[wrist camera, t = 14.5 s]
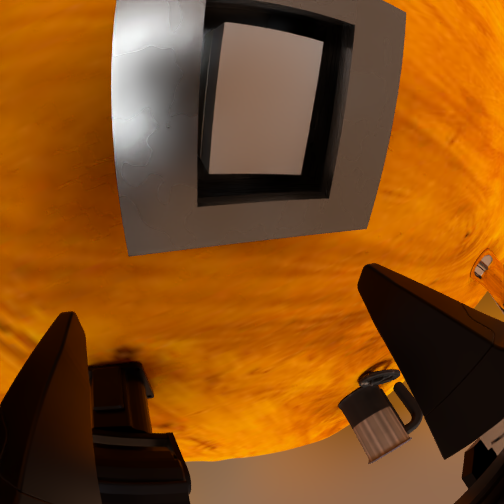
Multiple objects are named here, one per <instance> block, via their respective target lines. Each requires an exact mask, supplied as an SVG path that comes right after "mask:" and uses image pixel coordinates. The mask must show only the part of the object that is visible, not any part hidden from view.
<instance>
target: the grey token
mask: <svg viewBox="0 0 504 504" xmlns="http://www.w3.org/2000/svg"><path fill="white" fill-rule="evenodd" d="M323 43H324V42H322V41H319V40H315V39H311V38H308V37H304V36H300V35H296V34H292V33H287V32H283V31H278V30H273V29H268V28H263V27H257V26H251V25H244V24H237V23H229V22H224V23H223V24H221V25H220V26H218V27H217V28H216V29H214V30H213V38H212V45H211V53H210V62H209V70H208V79H207V89H206V99H205V110H204V122H203V134H202V148H201V161H202V163H203V164H204V166H205V168H206V170H207V171H208V173H209V174H291V175H301V171H302V166H303V160H304V155H305V150H306V144H307V139H308V134H309V128H310V122H311V117H312V111H313V105H314V99H315V93H316V87H317V81H318V75H319V69H320V63H321V56H322V49H323Z"/></svg>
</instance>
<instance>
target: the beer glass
mask: <svg viewBox="0 0 504 504" xmlns="http://www.w3.org/2000/svg"><path fill="white" fill-rule="evenodd" d="M470 276H471V278H472V279H474V280H475V281H477V282H478V283H480V284H481V285H483V286H484V287H485V288H486V289H487V291H488V292H489V293H490V295H491V296H492V297H493V299H494V300H495V302H496V303H497V305H498V306H499V308H500V309H501V311H502V312H503V313H504V264H503V263H501V262H500V261H499V260H498V259H497V257H496V256H495V255H494V254H493V252H492V251H491V250H490V249H486V250H485V251H484V252H483V253H482V254H481V255H480V256H479V258H478V259H477V261H476V262H475V264H474V266H473V268H472V270H471V274H470Z"/></svg>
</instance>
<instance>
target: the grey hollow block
mask: <svg viewBox="0 0 504 504" xmlns="http://www.w3.org/2000/svg"><path fill="white" fill-rule="evenodd" d="M224 22H229V23H237V24H244V25H251V26H257V27H263V28H268V29H273V30H278V31H283V32H287V33H292V34H296V35H300V36H304V37H308V38H311V39H315V40H319V41H322V42H324V43H323V49H322V56H321V63H320V69H319V75H318V81H317V87H316V93H315V99H314V105H313V111H312V117H311V122H310V128H309V134H308V139H307V144H306V150H305V155H304V160H303V166H302V171H301V175H291V174H209V173H208V171H207V170H206V168H205V166H204V164H203V163H202V161H201V158H199V156H198V154H197V140H198V105H199V83H200V73H201V65H202V57H203V49H204V41H205V35H206V34H207V33H209V32H210V31H211V30H213V29H216V28H217V27H218V26H220V25H221V24H223V23H224ZM405 24H406V12H404V11H402V10H400V9H398V8H396V7H394V6H393V5H391V4H389V3H387V2H385V1H383V0H117V1H116V9H115V19H114V30H113V45H112V71H111V101H112V128H113V144H114V156H115V167H116V177H117V185H118V193H119V201H120V208H121V215H122V221H123V227H124V233H125V239H126V244H127V249H128V254H129V256H137V255H144V254H152V253H160V252H168V251H177V250H185V249H193V248H201V247H209V246H218V245H226V244H235V243H243V242H252V241H261V240H269V239H278V238H287V237H296V236H305V235H314V234H323V233H332V232H341V231H351V230H360V229H367V226H368V222H369V219H370V215H371V212H372V208H373V205H374V201H375V198H376V194H377V190H378V186H379V182H380V178H381V174H382V170H383V166H384V162H385V157H386V153H387V148H388V144H389V139H390V134H391V129H392V124H393V118H394V113H395V107H396V101H397V95H398V89H399V82H400V74H401V66H402V58H403V48H404V37H405Z"/></svg>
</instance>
